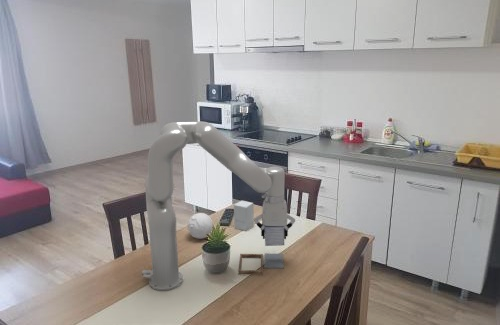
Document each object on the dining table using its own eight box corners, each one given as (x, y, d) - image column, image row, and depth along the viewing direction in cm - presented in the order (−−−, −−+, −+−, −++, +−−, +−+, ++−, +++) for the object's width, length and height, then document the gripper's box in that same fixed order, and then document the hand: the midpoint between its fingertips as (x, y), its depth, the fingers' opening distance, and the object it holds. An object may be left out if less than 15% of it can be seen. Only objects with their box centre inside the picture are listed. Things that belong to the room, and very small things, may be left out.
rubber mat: (264, 268, 150) (264, 267, 150) (264, 254, 160) (264, 253, 160) (283, 268, 149) (283, 267, 149) (282, 254, 160) (282, 253, 160)
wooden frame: (238, 274, 146) (238, 271, 145) (240, 256, 159) (240, 253, 158) (262, 274, 145) (262, 271, 145) (262, 257, 158) (262, 254, 158)
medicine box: (284, 240, 155) (283, 221, 152) (284, 246, 150) (284, 226, 148) (265, 241, 155) (264, 222, 153) (265, 246, 151) (264, 226, 148)
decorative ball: (183, 236, 177) (182, 213, 174) (204, 229, 185) (203, 207, 181) (196, 245, 168) (195, 221, 165) (218, 237, 176) (217, 214, 173)
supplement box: (254, 226, 188) (254, 202, 185) (246, 231, 182) (246, 207, 179) (242, 222, 192) (241, 199, 189) (233, 228, 186) (233, 204, 183)
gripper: (252, 201, 144) (252, 241, 149) (297, 201, 143) (296, 242, 148) (253, 194, 151) (253, 233, 156) (295, 194, 151) (294, 233, 155)
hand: (274, 237), depth 152 cm, fingers closed on medicine box, 8 cm apart
